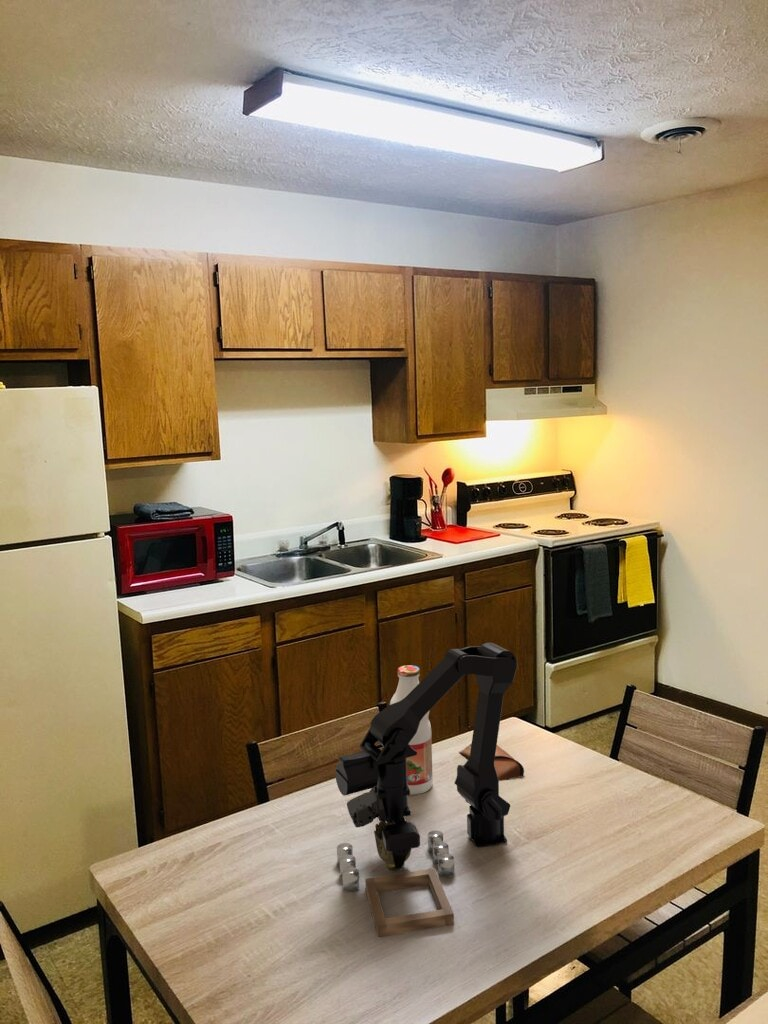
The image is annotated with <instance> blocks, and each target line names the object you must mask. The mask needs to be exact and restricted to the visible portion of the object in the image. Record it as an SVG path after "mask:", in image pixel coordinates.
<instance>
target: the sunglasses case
mask: <svg viewBox="0 0 768 1024" xmlns="http://www.w3.org/2000/svg"><path fill="white" fill-rule="evenodd" d="M471 744H472V742H471V743H470V744H469V745H468V746H467V745H466V747H464V749H462V750H461V751H458V754H460V755H461V756H463V757H464V758H466V759H467V760H468V759H469V757H470V751H471ZM494 766H495V769H496V773H497V776H498V780H499V782H500V781H504V780H509V779H514V778H517V777H522V776H524V774H525V768H524V766H523V765H522V764H521V763H520V762H519V761H518V760H517V759H515V758H514V757H513V756H511V755H510V754H509V753H508V752H507V751H505V750H504V749H503V748H502V747H501V746H499V745H498V744H497V746H496V753H495V760H494Z"/></svg>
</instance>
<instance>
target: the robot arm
mask: <svg viewBox="0 0 768 1024" xmlns="http://www.w3.org/2000/svg"><path fill="white" fill-rule="evenodd" d="M517 668H518V658H517V657H516V656H515V654H514V653H513V652H511V651H510V650H508V649H505V648H503V647H502V646H499V645H497V644H496V643H493V642H485V643H483V644H481V646H480V645H479V646H478V645H477V646H475V645H473V646H472V645H471V646H470V645H469V646H466V647H463V648H452V649H449V650H448V651H447V652H446V653H445V656H444V657H443V658H442V660H441V661H440V662H439V663H437V665H436V666H435V667H433V669H432V670H430V672H429V673H428V674H427V675H426V676H425V677H424V678H423V679H422V680H421V681H419V684H418V685H417V686H416V687H415V688H414V689H413V690H412V691H411V692H410V693H409V694H408V695H407V696H406V697H405V698H404V699H402V700H401V701H399V702H396V703H394V704H391V705H390V704H389V705H388V706H386V707H385V708H383V709H382V710H380V711H379V712H378V713H376V715H374V717H373V718H372V719H371V721H370V727H369V729H368V731H367V732H366V734H365V736H364V738H362V741H361V743H360V745H359V749H361V752H357V753H353V754H346V755H341V756H339V757H338V759H339V761H338V762H337V764H336V768H335V770H334V775H335V776H334V777H335V781H336V785H337V788H338V790H339V792H340V794H341V795H342V796H348V795H353V794H356V793H359V792H363V791H366V790H369V791H368V792H364V793H362V794H360V795H357V796H355V797H353V798H351V799H349V800H347V802H346V806H347V810H348V813H349V816H350V818H351V820H352V823H353V825H354V827H355V828H362V827H366V826H367V825H369V824H371V823H373V822H374V820H375V819H376V818H377V819H378V822H380V821H385V822H386V823H392V825H387V826H386V827H385V828H384V829H383V830H382V835H383V837H382V840H383V843H384V845H385V848H386V850H387V851H392V855H393V860H394V864H395V868H396V869H398V868H401V867H402V865H403V863H404V861H405V859H406V857H407V855H408V853H409V851H410V849H411V848H412V849H418V848H419V847H420V846H421V835H420V833H419V830H418V829H417V826H416V825H415V824H414V823H413V822H411V821H409V822H408V821H407V822H406V819H405V817H409V816H411V813H412V812H411V808H410V806H409V797H408V796H410V789H409V787H408V785H407V760H406V758H408V757H411V756H415V755H417V752H416V751H415V750H414V749H413V748H412V747H410V745H409V742H410V741H411V740H412V738H413V737H414V736H415V734H416V733H417V730H418V727H419V724H420V721H421V720H422V718H423V717H424V716H425V715H426V714H427V712H428V711H429V710H430V711H431V709H433V707H434V706H436V704H437V703H439V701H440V700H441V699H442V698H444V696H445V695H447V693H448V692H449V691H450V690H451V689H452V688H453V687H454V686H455V685H456V684H457V683H458V682H459V681H460V680H461V679H462V678H463V677H464V676H465V675H475V678H476V681H477V684H478V695H477V701H476V711H475V717H474V724H473V730H472V731H473V732H472V738H471V743H472V744H471V743H470V744H471V751H470V757H469V759H467V760H466V761H465V763H464V764H457V767H456V779H455V780H454V785H456V791H457V793H458V794H459V795H460V796H461V797H462V798H463V799H464V800H465V801H464V802H466V803H467V804H469V813H468V814H466V825H467V827H466V828H467V829H466V833H467V834H468V836H469V838H470V840H472V842H473V845H474V847H477V848H480V847H482V848H483V847H487V846H488V847H489V846H495V845H500V844H501V845H503V844H507V842H508V839H507V837H506V836H505V819H504V817H506V816H507V815H509V813H510V812H509V811H510V808H511V804H510V802H508V801H506V800H505V799H504V798H502V797H501V796H500V788H499V787H500V783H499V782H500V781H499V780H498V776H497V773H496V769H495V766H494V760H495V753H496V746H497V745H498V738H499V730H500V723H501V718H502V709H503V702H504V696H505V693H506V692H507V690H508V689H509V688H510V687H511V685H512V684H513V682H514V679H515V675H516V672H517ZM430 711H429V712H430ZM376 743H379V744H380V745H381V746H382V747H383V748H382V749H380V748H379V747H378V746H377V745H375V744H376ZM412 849H411V850H412ZM405 862H406V861H405Z"/></svg>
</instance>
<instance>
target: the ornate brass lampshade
mask: <svg viewBox="0 0 768 1024" xmlns="http://www.w3.org/2000/svg"><path fill="white" fill-rule="evenodd" d="M405 821H406V822H408V820H406V819H405ZM387 825H392V823H386V822H385V821H379V823H376V824H375V826H374V827H375V830H373V834H374V839H375V845H376V850H377V854H378V857H379V858H380V859H381V861H382V862H384V864H385V867H386V869H387V870H389V871H390V872H400V871H402V870H403V869H404V867H405V863H406V861H407V860H408V859H409V857H411V853H412V849H413V848H411V849H410V851H409V853H408V855H407V857H406V859H405V861H404V863H403V865H402V867H401V868H398V869H396V868H395V864H394V860H393V855H392V851H387V850H386V848H385V845H384V843H383V840H382V837H383V835H382V830H383V829H384V828H385V827H386V826H387Z"/></svg>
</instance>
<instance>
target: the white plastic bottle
mask: <svg viewBox="0 0 768 1024" xmlns="http://www.w3.org/2000/svg"><path fill="white" fill-rule="evenodd" d="M420 674H421V673H420V667H418V666H417V665H412V664H411V665H410V664H409V665H408V664H407V665H402V666H401V665H400V667H398V669H397V677H398V684H397V687H396V691H395V692H394V694H393V696H392V697H391V699H390V701H389V705H391V704H394V703H396V702H399V701H401V700H402V699H404V698H405V697H406V696H407V695H408V694H409V693H410V692H411V691H412V690H413V689H414V688H415V687H416V686H417V685H418V684H419V683H420V680H419V677H420ZM430 712H431V709H430V710H429V711H428V712H427V714H426V715H425V716H424V717H423V718H422V720H421V721H420V724H419V727H418V730H417V733H416V734H415V736H414V737H413V738H412V740H411V741H410V742H409V745H410V747H412V748H413V749H414V750H415V751H416V752H417V755H415V756H411V757H408V758H406V760H407V785H408V787H409V789H410V795H411V796H412V795H414V796H415V795H420V794H424V793H426V792H428V791H429V790H430V789H431V788H432V785H433V782H434V780H433V779H434V778H433V750H432V749H433V745H432V743H433V742H432V741H433V740H432V727H431V721H430V719H429V715H430ZM410 795H409V796H410Z"/></svg>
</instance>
